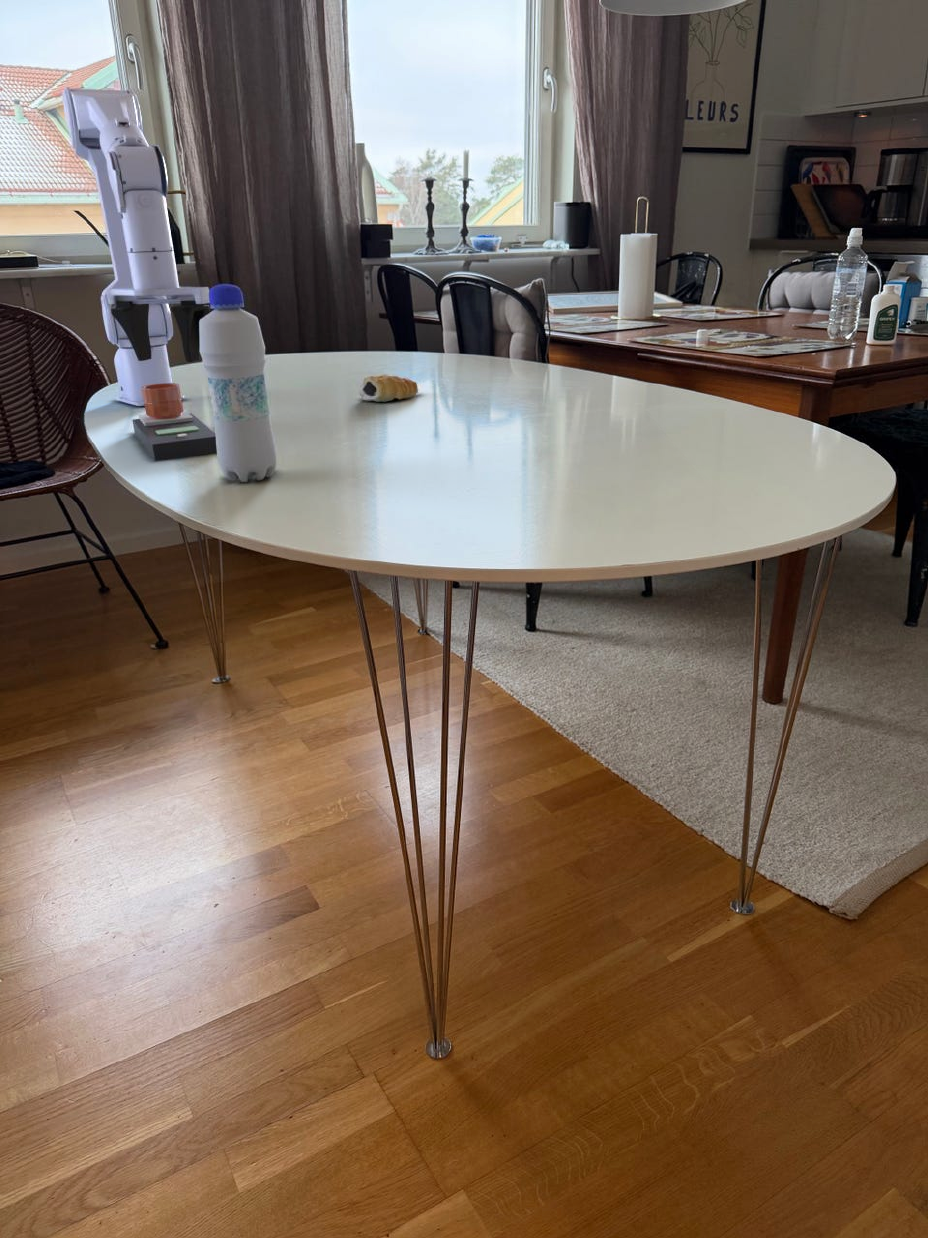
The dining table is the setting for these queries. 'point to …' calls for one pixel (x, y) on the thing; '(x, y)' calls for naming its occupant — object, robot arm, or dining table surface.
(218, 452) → the bottle
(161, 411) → the copper ridged cylinder
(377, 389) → the pastry
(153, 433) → the scale
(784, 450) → the dining table surface
